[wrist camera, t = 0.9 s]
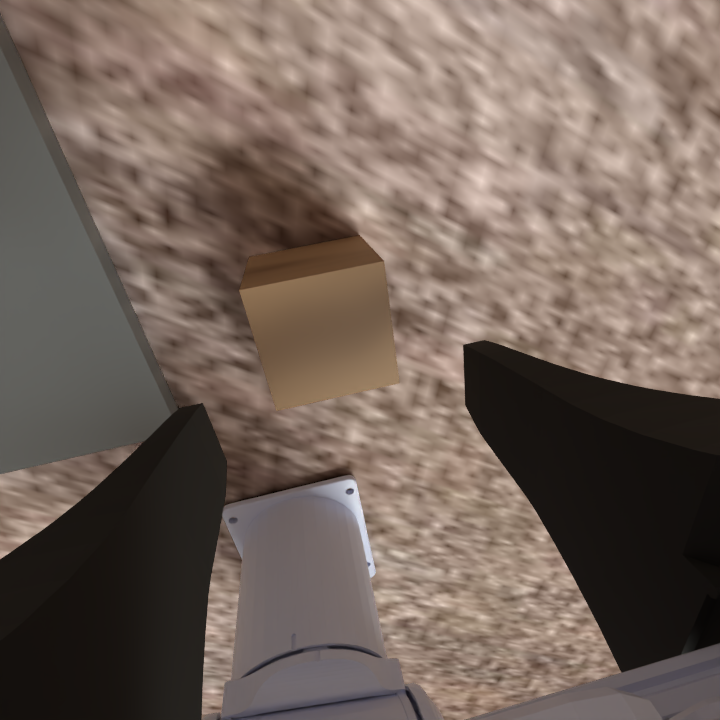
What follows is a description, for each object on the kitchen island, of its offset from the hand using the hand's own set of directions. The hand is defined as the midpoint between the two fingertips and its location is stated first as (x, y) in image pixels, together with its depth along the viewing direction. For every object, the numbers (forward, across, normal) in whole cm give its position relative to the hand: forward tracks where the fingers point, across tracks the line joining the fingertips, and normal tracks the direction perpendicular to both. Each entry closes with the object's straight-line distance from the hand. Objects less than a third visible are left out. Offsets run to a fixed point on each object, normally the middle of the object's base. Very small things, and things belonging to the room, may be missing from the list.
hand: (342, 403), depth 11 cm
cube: (+9, 0, 0) cm, 9 cm away
